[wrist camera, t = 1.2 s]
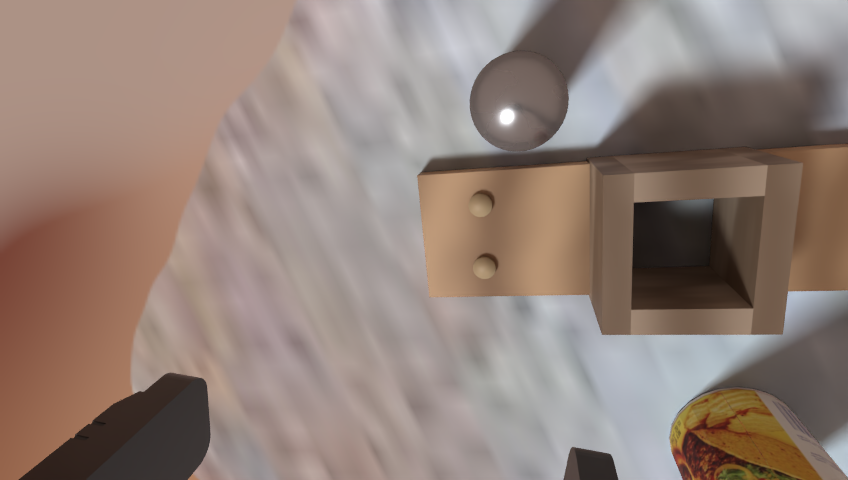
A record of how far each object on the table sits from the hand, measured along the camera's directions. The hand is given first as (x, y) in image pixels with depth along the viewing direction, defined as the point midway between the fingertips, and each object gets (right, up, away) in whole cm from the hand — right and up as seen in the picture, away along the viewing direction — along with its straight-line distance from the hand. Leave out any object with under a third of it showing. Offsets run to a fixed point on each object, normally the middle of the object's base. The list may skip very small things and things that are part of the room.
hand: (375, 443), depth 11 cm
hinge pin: (+7, +13, +18) cm, 23 cm away
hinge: (+15, +5, +19) cm, 25 cm away
